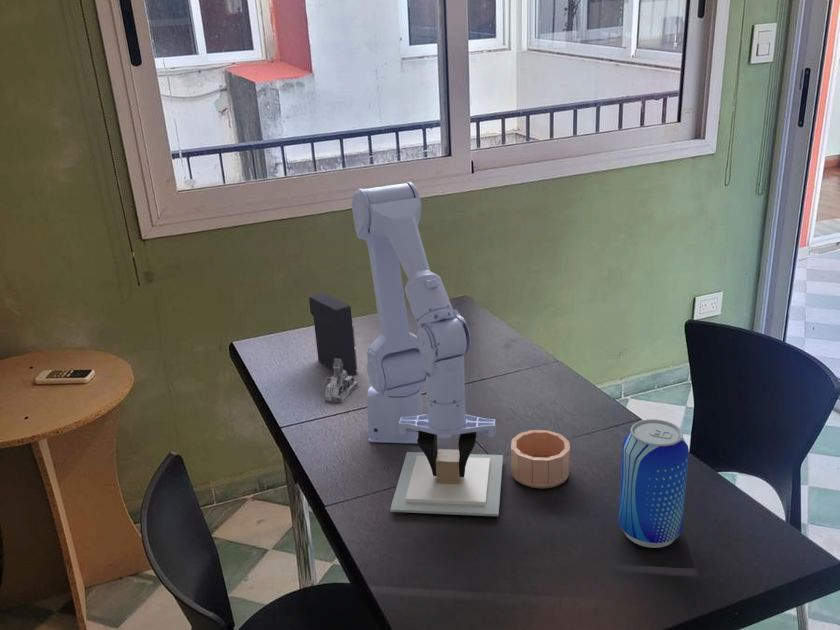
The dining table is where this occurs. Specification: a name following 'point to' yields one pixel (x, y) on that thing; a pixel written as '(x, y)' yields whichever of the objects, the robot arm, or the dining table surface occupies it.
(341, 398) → the grey crystal cluster
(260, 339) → the dining table surface
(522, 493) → the dining table surface
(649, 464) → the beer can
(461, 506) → the mat
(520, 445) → the bowl
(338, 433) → the dining table surface
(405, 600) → the dining table surface
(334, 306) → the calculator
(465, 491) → the cover sheet
